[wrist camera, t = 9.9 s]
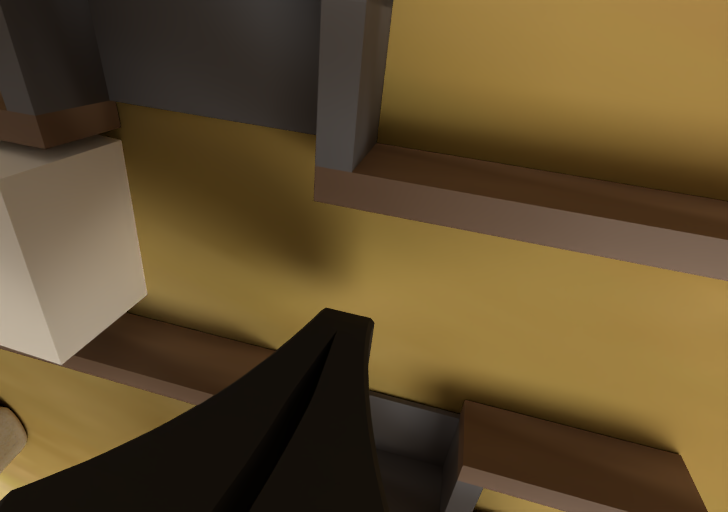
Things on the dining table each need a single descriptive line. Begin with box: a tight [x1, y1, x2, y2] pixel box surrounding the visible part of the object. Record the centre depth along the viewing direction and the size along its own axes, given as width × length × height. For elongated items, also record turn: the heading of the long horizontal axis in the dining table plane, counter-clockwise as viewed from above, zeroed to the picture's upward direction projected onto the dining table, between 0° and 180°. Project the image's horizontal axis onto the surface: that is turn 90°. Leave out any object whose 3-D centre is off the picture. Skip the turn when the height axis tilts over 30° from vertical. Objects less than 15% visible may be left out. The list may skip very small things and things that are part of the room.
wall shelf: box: [0, 0, 728, 512], centre depth 12 cm, size 17×27×3 cm, turn 85°
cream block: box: [0, 134, 148, 365], centre depth 13 cm, size 6×6×4 cm
